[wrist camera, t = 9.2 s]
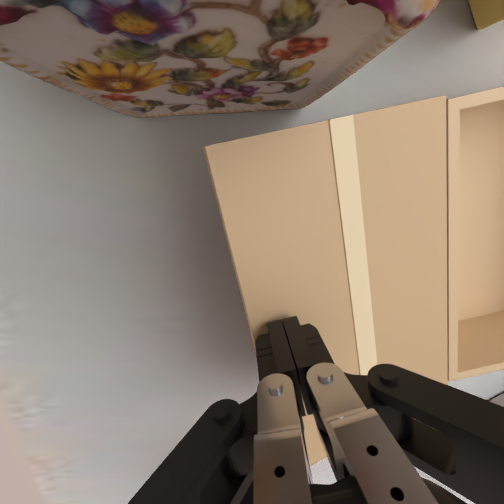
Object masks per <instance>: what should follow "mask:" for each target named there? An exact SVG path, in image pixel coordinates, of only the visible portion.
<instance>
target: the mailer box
mask: <svg viewBox="0 0 504 504" xmlns="http://www.w3.org/2000/svg"><path fill="white" fill-rule="evenodd" d="M446 169H447V380H448V381H449V382H450V381H454V380H458V379H463V378H467V377H472V376H476V375H480V374H485V373H489V372H494V371H498V370H502V369H504V87H499V88H495V89H491V90H486V91H482V92H478V93H473V94H469V95H465V96H460V97H456V98H452V99H448V100H446Z"/></svg>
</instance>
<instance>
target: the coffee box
mask: <svg viewBox="0 0 504 504" xmlns="http://www.w3.org/2000/svg"><path fill="white" fill-rule="evenodd" d="M490 402H492V403H495V404H498V405H500V406H503V407H504V393H502V394H501V395H499V396H497V397H495V398H493V399H491V400H490Z"/></svg>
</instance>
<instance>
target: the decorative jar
mask: <svg viewBox="0 0 504 504" xmlns="http://www.w3.org/2000/svg"><path fill="white" fill-rule="evenodd" d="M439 1H440V0H0V61H2V62H4V63H6V64H8V65H10V66H13V67H15V68H17V69H19V70H21V71H24V72H26V73H27V74H29V75H32V76H34V77H36V78H39V79H42V80H43V81H45V82H48V83H51V84H53V85H55V86H58V87H60V88H62V89H65V90H67V91H70V92H73V93H75V94H78V95H80V96H83V97H85V98H87V99H89V100H91V101H93V102H95V103H97V104H100V105H102V106H104V107H106V108H109V109H111V110H114V111H117V112H120V113H123V114H126V115H130V116H133V117H138V118H144V117H161V116H174V115H176V116H178V115H196V114H213V113H229V112H247V111H260V110H275V109H289V108H295V109H297V108H303V107H306V106H307V105H309V104H311V103H312V102H314V101H315V100H317V99H318V98H320V97H321V96H323V95H324V94H326V93H327V92H329V91H330V90H332V89H333V88H334V87H336V86H337V85H339V84H340V83H341V82H343V81H344V80H345V79H347V78H348V77H349V76H350V75H352V74H353V73H355V72H356V71H357V70H359V69H360V68H362V67H363V66H364V65H365V64H366V63H368V62H369V61H370V60H372V59H373V58H375V57H376V56H377V55H378V54H379V53H381V52H382V51H384V50H385V49H386V48H387V47H389V46H390V45H392V44H393V43H394V42H395V41H397V40H398V39H399V38H401V37H402V36H404V35H405V34H406V33H407V32H409V31H410V30H412V29H413V28H415V27H416V26H418V25H419V24H420V23H421V22H422V21H423V20H425V19H426V18H427V17H428V16H429V15H430V14H431V13H432V12H433V10H434V9H435V8H436V7H437V5H438V3H439Z"/></svg>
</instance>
